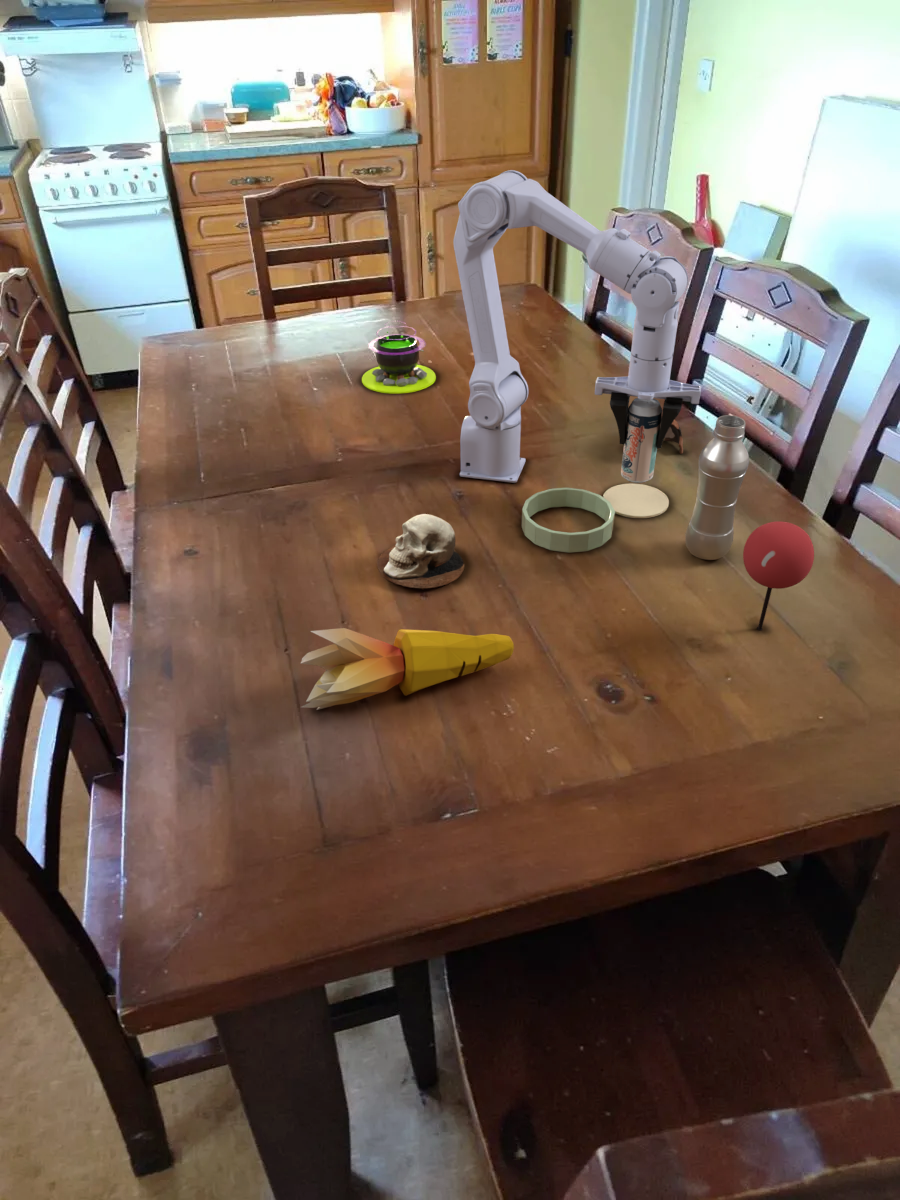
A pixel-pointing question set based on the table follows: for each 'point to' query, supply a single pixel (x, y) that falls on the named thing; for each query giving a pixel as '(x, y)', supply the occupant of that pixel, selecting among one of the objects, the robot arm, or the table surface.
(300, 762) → the table surface
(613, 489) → the coaster
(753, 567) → the lollipop
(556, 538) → the ring
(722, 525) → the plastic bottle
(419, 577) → the skull
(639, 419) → the beer can
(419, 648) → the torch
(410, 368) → the toy cauldron
